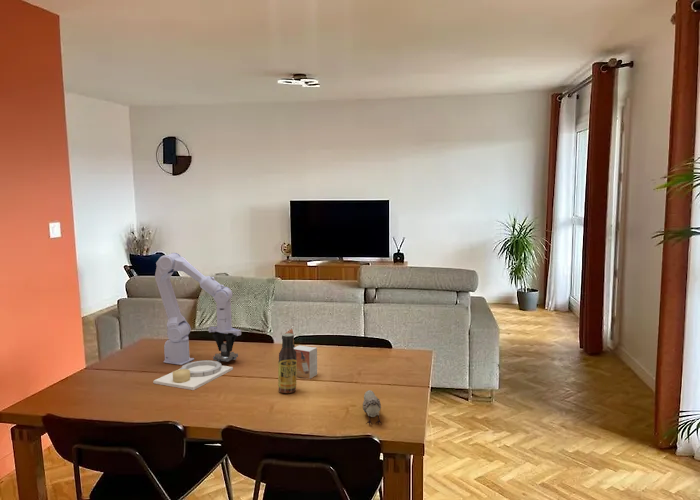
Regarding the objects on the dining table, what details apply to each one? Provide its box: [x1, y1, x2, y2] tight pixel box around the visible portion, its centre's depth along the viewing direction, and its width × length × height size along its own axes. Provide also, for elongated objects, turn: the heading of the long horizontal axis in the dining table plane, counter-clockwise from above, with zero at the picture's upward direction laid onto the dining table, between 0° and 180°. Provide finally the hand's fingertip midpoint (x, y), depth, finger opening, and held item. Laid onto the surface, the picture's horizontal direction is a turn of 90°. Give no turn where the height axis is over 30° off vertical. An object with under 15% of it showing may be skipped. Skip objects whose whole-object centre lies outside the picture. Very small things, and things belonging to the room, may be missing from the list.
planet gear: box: [212, 341, 239, 363], centre depth 216 cm, size 10×10×6 cm
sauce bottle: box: [277, 332, 298, 394], centre depth 183 cm, size 6×6×20 cm
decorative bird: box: [362, 389, 383, 426], centre depth 164 cm, size 5×16×8 cm, turn 4°
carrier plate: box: [152, 359, 234, 391], centre depth 200 cm, size 18×23×4 cm
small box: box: [294, 344, 318, 380], centre depth 199 cm, size 8×6×10 cm
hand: (225, 351), depth 216 cm, fingers closed on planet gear, 4 cm apart
